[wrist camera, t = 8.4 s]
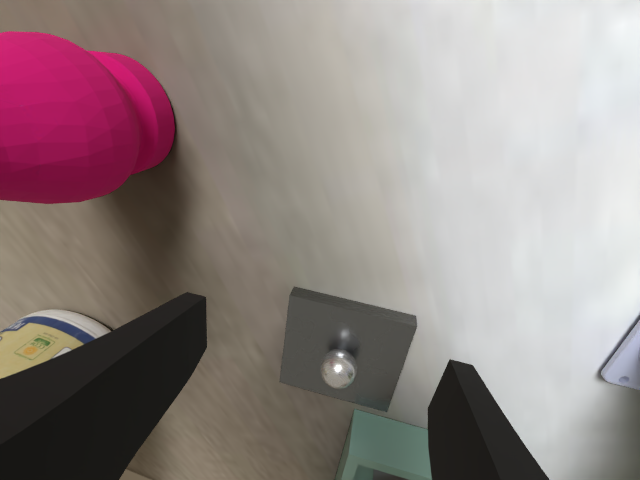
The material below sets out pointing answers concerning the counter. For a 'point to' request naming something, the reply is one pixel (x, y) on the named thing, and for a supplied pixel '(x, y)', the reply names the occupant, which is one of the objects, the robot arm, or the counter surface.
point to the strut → (385, 476)
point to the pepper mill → (75, 120)
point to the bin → (384, 449)
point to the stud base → (345, 348)
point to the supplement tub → (44, 338)
